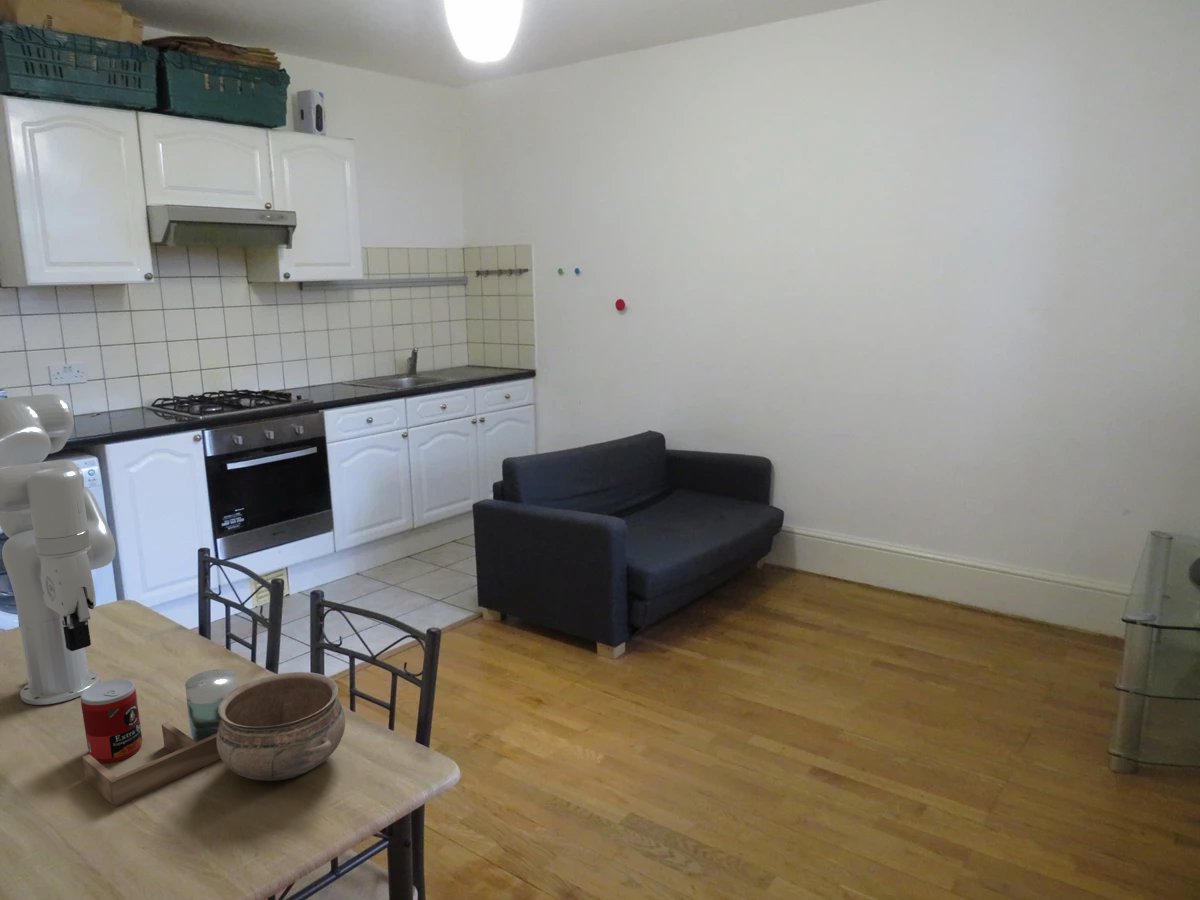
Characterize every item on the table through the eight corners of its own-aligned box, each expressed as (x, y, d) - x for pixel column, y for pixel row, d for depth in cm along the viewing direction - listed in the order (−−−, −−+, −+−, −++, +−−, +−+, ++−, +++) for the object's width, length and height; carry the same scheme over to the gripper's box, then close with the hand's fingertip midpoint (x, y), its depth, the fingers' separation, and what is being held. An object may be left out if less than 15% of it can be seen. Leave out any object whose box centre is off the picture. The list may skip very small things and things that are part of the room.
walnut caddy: (85, 780, 130) (81, 756, 129) (238, 714, 149) (236, 694, 148) (115, 806, 123) (111, 782, 122) (272, 734, 142) (269, 713, 141)
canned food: (119, 766, 133) (111, 703, 131) (77, 761, 135) (67, 698, 133) (154, 740, 141) (146, 680, 138) (113, 736, 142) (104, 676, 140)
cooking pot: (191, 764, 134) (183, 694, 131) (301, 718, 147) (295, 654, 145) (267, 831, 117) (259, 752, 115) (382, 772, 131) (377, 701, 129)
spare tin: (183, 742, 140) (176, 681, 138) (227, 723, 146) (221, 665, 144) (206, 757, 136) (198, 695, 133) (250, 737, 141) (244, 677, 139)
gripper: (21, 541, 139) (37, 644, 143) (54, 557, 130) (71, 667, 133) (70, 530, 145) (85, 629, 148) (106, 545, 136) (121, 650, 139)
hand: (79, 647), depth 141 cm, fingers closed
